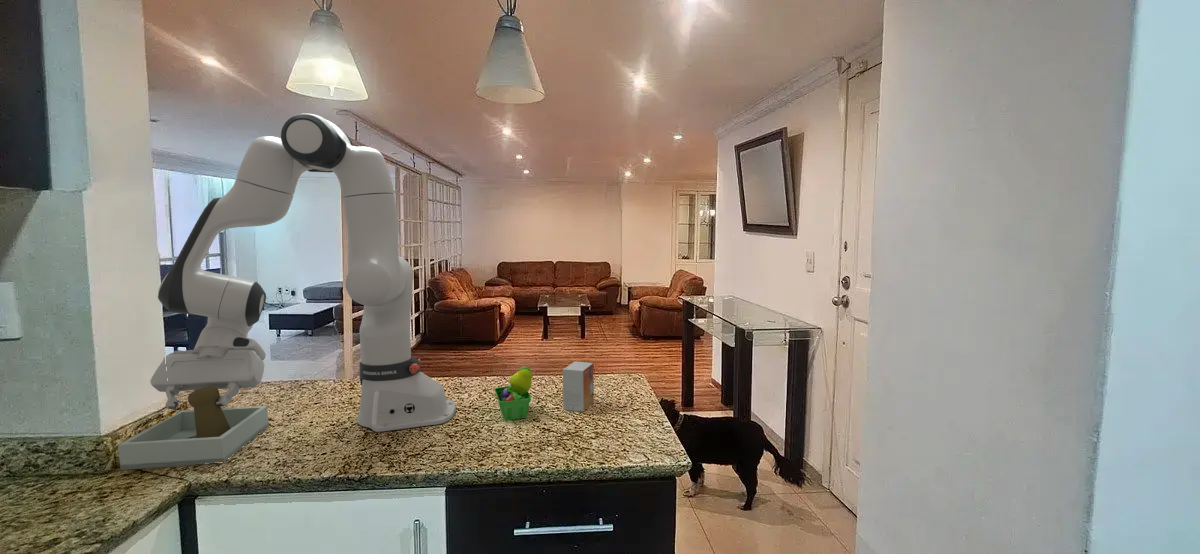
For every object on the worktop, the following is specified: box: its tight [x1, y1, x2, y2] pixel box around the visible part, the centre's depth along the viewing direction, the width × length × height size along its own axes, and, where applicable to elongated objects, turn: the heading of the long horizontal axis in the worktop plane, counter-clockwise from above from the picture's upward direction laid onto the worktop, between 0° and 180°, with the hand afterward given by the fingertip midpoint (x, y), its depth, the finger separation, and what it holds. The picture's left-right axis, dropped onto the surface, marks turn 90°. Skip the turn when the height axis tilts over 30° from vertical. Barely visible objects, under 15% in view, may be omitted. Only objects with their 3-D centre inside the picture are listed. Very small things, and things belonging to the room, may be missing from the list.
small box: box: [562, 361, 595, 413], centre depth 130 cm, size 8×6×10 cm
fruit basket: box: [494, 366, 533, 421], centre depth 126 cm, size 11×9×11 cm
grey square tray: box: [117, 405, 270, 471], centre depth 108 cm, size 18×18×5 cm
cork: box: [187, 387, 230, 438], centre depth 107 cm, size 6×6×11 cm
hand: (196, 406), depth 106 cm, fingers open, 8 cm apart
